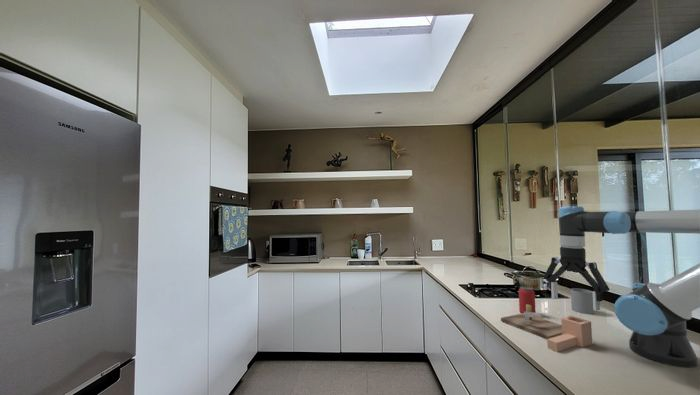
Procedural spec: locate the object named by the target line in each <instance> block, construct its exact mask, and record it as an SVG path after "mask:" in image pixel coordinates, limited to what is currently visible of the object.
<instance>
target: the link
mask: <svg viewBox="0 0 700 395" xmlns="http://www.w3.org/2000/svg"><path fill="white" fill-rule="evenodd" d="M560 320H561V322H560V323H561V325H562V335H560V336H557V337H553V338H550V339H546V340H547V341H546V343H547V349H549V350H551V351H553V352H557V353H558V352H561V351H564V350H567V349H570V348H573V347H575V346H578V347H580V348H585V347H588V346H591V345H593V334H592V321H590V320H587V319H583V318H580V317H577V316H573V315H569V316H566V317H565V316H564V317H561V319H560Z"/></svg>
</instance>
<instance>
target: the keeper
mask: <svg viewBox="0 0 700 395" xmlns="http://www.w3.org/2000/svg"><path fill="white" fill-rule="evenodd" d="M524 314H525V325H529V326H530V324H529V317H534V318H542V319H543V316H542V314H541V313H540V312H536V313H533V312H526V311H524Z"/></svg>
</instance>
